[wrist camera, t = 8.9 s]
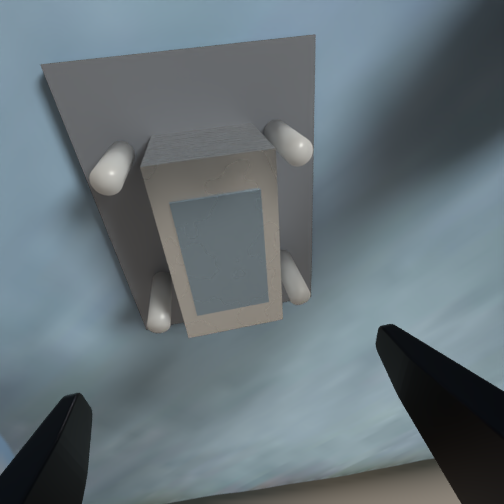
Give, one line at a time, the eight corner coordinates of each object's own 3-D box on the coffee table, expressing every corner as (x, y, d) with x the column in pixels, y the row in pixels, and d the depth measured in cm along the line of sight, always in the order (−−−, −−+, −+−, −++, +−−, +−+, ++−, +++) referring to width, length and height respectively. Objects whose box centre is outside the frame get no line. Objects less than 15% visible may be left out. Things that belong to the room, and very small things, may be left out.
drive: (251, 122, 16) (276, 148, 12) (262, 265, 21) (283, 320, 17) (151, 135, 15) (139, 167, 11) (187, 279, 20) (188, 339, 16)
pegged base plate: (308, 35, 15) (355, 29, 11) (306, 288, 24) (332, 337, 20) (48, 63, 14) (-8, 69, 10) (147, 319, 23) (140, 379, 19)
